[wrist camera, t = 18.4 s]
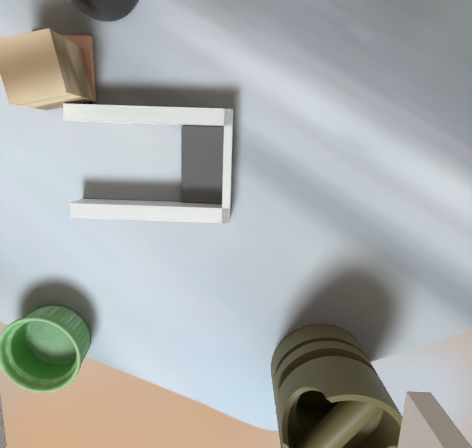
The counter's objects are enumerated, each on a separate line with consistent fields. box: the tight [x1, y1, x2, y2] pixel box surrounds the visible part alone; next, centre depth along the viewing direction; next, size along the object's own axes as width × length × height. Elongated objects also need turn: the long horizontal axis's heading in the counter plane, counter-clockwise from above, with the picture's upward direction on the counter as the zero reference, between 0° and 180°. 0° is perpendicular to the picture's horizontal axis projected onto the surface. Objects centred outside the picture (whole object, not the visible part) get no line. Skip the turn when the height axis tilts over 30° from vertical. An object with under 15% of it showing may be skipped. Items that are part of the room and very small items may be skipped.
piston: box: [271, 325, 402, 448], centre depth 38 cm, size 11×12×11 cm
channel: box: [63, 103, 233, 223], centre depth 37 cm, size 16×11×3 cm
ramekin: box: [0, 305, 90, 393], centre depth 41 cm, size 9×9×4 cm
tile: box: [62, 35, 96, 102], centre depth 36 cm, size 6×6×1 cm
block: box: [0, 28, 95, 110], centre depth 33 cm, size 5×5×6 cm
